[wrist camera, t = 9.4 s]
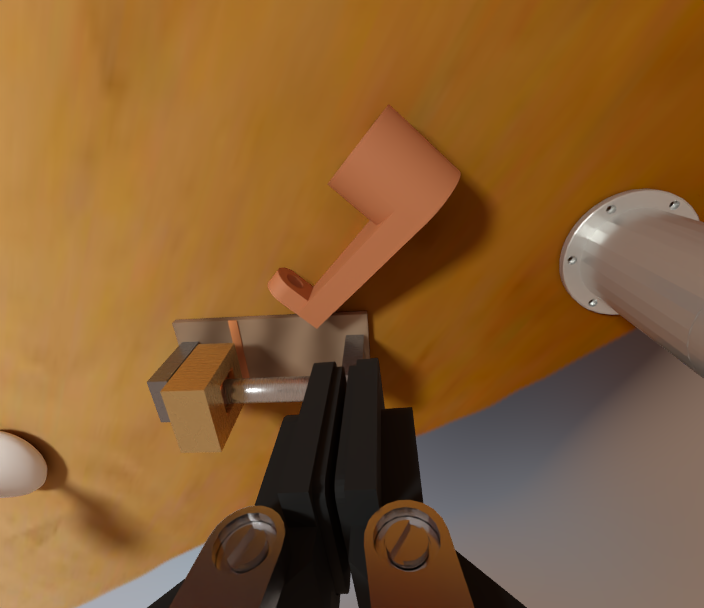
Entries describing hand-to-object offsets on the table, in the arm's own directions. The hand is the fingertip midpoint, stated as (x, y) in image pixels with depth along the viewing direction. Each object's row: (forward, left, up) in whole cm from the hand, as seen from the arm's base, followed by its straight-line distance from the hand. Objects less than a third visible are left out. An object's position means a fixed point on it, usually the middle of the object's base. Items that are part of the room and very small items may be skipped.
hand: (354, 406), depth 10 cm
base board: (+12, +17, -31) cm, 37 cm away
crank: (+2, +2, -31) cm, 31 cm away
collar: (+17, +17, -27) cm, 36 cm away
